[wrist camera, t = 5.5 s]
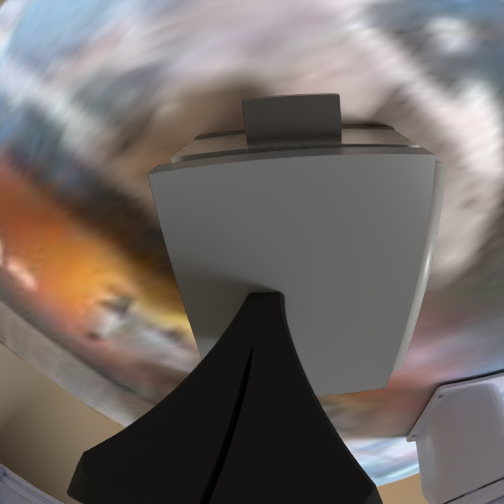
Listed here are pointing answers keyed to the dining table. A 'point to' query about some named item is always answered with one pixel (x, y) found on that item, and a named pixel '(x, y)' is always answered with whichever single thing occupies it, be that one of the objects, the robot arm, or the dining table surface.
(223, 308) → the lid
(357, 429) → the dining table surface
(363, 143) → the cooker
